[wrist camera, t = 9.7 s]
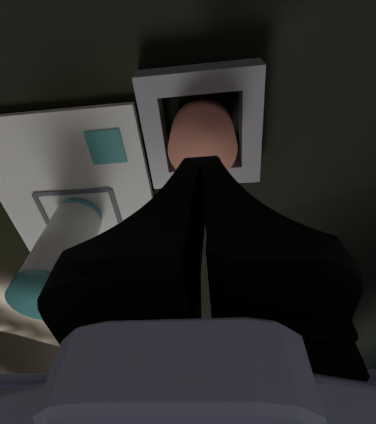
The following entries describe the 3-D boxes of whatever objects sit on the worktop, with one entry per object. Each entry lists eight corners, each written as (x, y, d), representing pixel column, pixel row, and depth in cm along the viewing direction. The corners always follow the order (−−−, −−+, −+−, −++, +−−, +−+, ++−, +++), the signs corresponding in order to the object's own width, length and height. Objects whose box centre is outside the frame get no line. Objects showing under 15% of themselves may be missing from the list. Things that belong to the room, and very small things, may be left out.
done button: (233, 156, 16) (237, 178, 14) (175, 160, 17) (172, 182, 15) (232, 96, 14) (237, 113, 12) (167, 102, 15) (162, 119, 13)
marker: (109, 230, 21) (78, 319, 15) (66, 232, 21) (21, 320, 16) (97, 194, 19) (57, 281, 13) (49, 197, 19) (-8, 284, 14)
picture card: (173, 291, 25) (172, 297, 25) (61, 295, 26) (58, 301, 26) (134, 101, 16) (132, 105, 15) (-42, 117, 17) (-49, 121, 16)
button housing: (255, 167, 18) (259, 181, 17) (157, 174, 18) (154, 188, 17) (260, 57, 14) (266, 64, 13) (137, 69, 15) (131, 77, 13)
